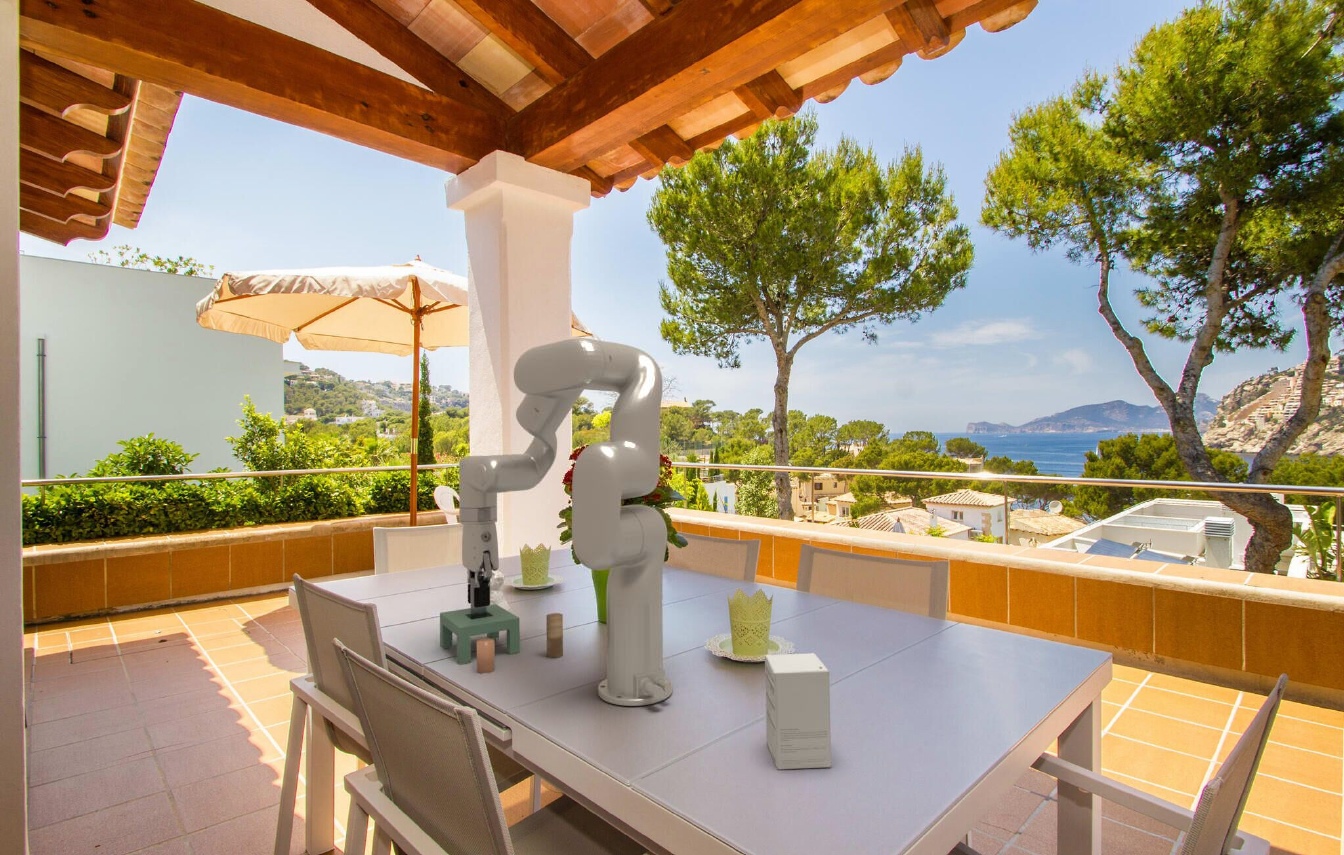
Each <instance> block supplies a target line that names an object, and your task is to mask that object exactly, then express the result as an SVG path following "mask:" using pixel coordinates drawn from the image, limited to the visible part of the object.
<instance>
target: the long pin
mask: <svg viewBox="0 0 1344 855" xmlns="http://www.w3.org/2000/svg"><path fill="white" fill-rule="evenodd" d="M480 577H481V576H479V579H480ZM475 587H476V586H475V577H472V578H471V604H470V608H471V620H472V619H478V618H484V617H487V606H484V607H477V608H476V607H474V588H475Z"/></svg>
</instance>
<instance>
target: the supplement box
mask: <svg viewBox="0 0 1344 855" xmlns="http://www.w3.org/2000/svg"><path fill="white" fill-rule="evenodd" d="M764 670H765V671H764V672H765V674H764V676H765V719H766V721H765V724H766V726H765V727H766V728H765V729H766V730H765V731H766V745H767V747H768V749H769V752H770V755H771V757H772V760H773V762H774V765H775V767H776V769H777V770H793V769H794V770H795V769H816V768H817V769H818V768H819V769H820V768H831V767H832V743H831V742H832V741H831V738H832V737H831V736H832V734H831V699H830V698H831V697H830V696H831V691H830V688H831V686H830V671H829V670H828V668H827V667H826V666H825V664H824V663H823V662H822V661H821V659H819V657H818V656H817V655H816V654H815V653H814V652H810V653H789V654H788V653H787V654H786V653H785V654H784V653H783V654H781V653H780V654H764Z"/></svg>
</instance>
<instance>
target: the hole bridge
mask: <svg viewBox="0 0 1344 855" xmlns="http://www.w3.org/2000/svg"><path fill="white" fill-rule="evenodd" d="M503 631H506V653H508V654H509V655H514V654H519V653H520V652H521V647H520V646H521V644H520V643H521V642H520V637H521V636H520V634H521V633H520V617H519V616H517V615H515V614H513V613H512V612H511V611H510V612H508V611H507V610H505V609H503V608H501V607H500V606H498V605H496V604H493V605H489V606H487V617H484V618H478V619H472V620H471V607H470V608H469V607H468V608H462V609H456V610H449V611H442V612H440V613H439V632H440V633H439V647H440V648H441V649H447V648H448V649H449V648H453V634H454V635H455V636H456V663H458V664H459V665H460V666H461V665H464V664H465V665H466V664H469V663H471V637H474V636H475V637H476V636H480V635H481V636H482V635H486V638H492V639H494V640H497V639H496V638H498V639H500V632H503Z"/></svg>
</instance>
